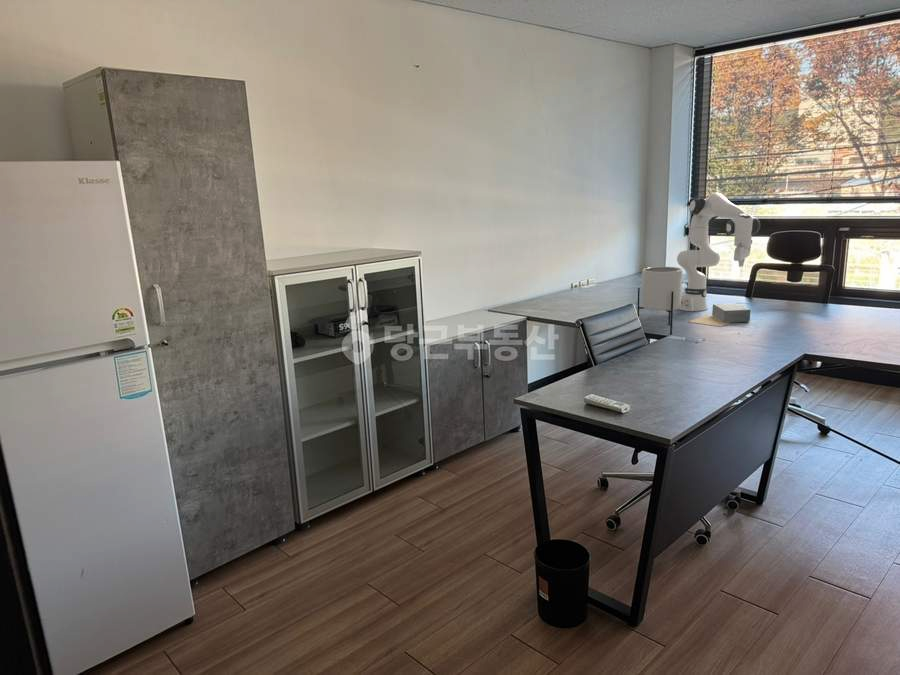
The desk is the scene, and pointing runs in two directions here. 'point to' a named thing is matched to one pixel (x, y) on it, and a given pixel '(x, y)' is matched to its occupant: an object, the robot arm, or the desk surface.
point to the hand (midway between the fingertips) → (741, 266)
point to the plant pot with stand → (661, 290)
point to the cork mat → (709, 321)
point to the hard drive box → (731, 312)
